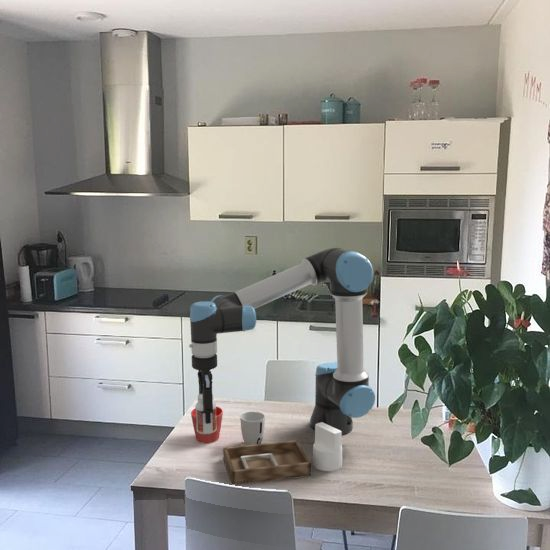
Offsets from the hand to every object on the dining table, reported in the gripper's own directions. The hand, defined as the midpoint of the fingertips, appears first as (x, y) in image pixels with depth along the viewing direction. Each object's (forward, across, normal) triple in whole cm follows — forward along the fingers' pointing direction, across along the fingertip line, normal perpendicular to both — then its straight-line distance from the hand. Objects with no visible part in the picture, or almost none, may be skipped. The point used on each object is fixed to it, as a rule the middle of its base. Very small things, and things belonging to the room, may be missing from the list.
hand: (206, 427), depth 186 cm
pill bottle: (+1, 0, 0) cm, 1 cm away
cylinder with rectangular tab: (+14, +6, +36) cm, 39 cm away
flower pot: (+13, -20, +2) cm, 24 cm away
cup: (+14, -12, +16) cm, 24 cm away
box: (+13, +4, +17) cm, 22 cm away
